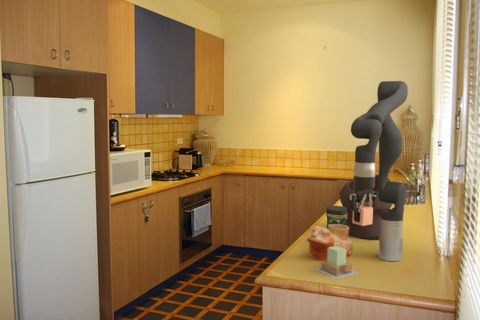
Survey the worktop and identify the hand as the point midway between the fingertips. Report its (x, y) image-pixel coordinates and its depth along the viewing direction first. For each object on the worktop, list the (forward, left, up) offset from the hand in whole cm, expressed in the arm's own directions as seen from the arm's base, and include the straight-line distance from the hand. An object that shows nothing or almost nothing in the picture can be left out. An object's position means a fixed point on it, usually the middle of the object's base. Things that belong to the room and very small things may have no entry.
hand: (362, 220), depth 167 cm
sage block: (+2, -10, -19) cm, 21 cm away
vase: (-53, -44, -23) cm, 73 cm away
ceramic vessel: (-10, -26, -23) cm, 36 cm away
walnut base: (+2, -10, -22) cm, 24 cm away
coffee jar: (-27, -39, -23) cm, 53 cm away
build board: (+2, -10, -23) cm, 25 cm away
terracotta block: (0, 0, -1) cm, 1 cm away
